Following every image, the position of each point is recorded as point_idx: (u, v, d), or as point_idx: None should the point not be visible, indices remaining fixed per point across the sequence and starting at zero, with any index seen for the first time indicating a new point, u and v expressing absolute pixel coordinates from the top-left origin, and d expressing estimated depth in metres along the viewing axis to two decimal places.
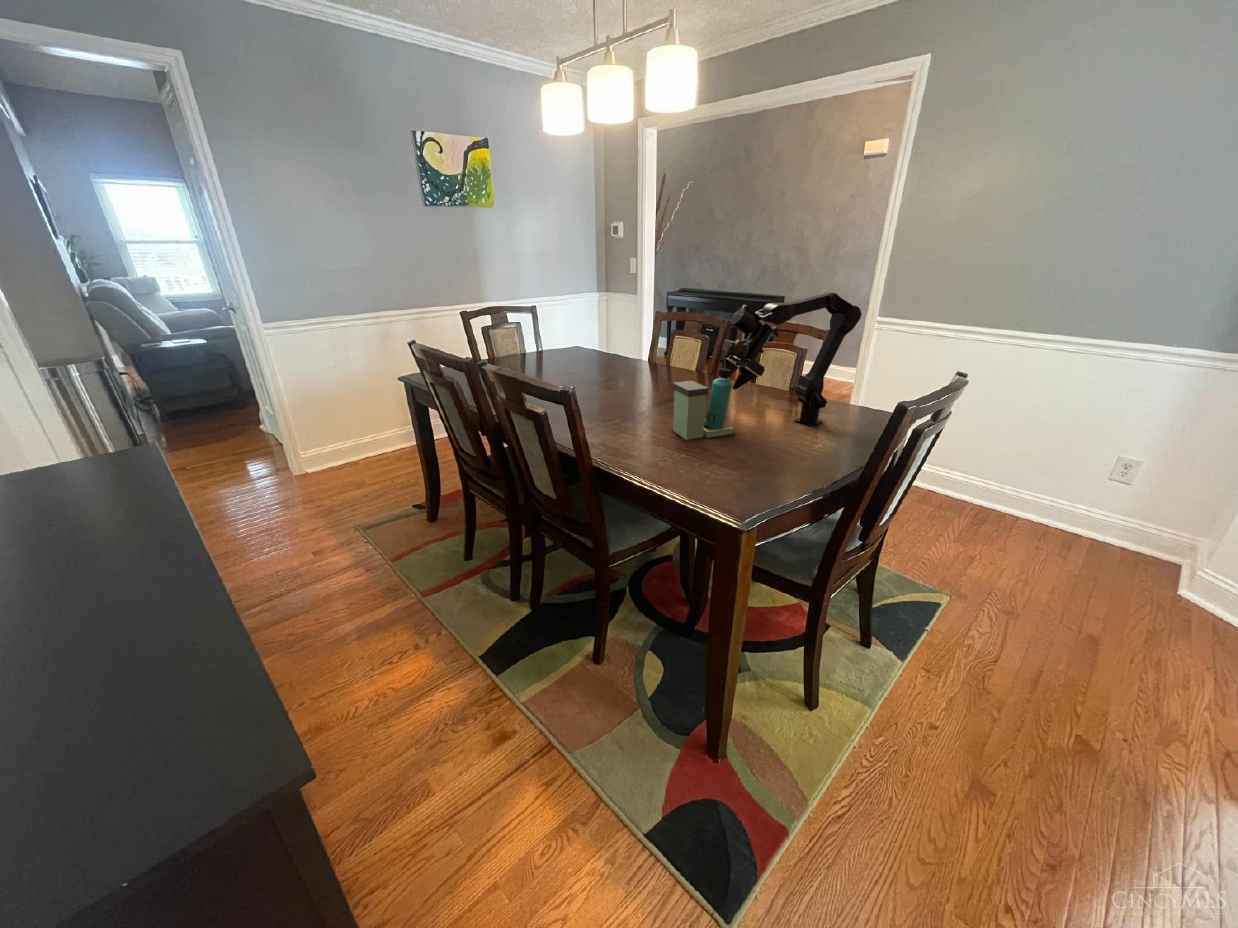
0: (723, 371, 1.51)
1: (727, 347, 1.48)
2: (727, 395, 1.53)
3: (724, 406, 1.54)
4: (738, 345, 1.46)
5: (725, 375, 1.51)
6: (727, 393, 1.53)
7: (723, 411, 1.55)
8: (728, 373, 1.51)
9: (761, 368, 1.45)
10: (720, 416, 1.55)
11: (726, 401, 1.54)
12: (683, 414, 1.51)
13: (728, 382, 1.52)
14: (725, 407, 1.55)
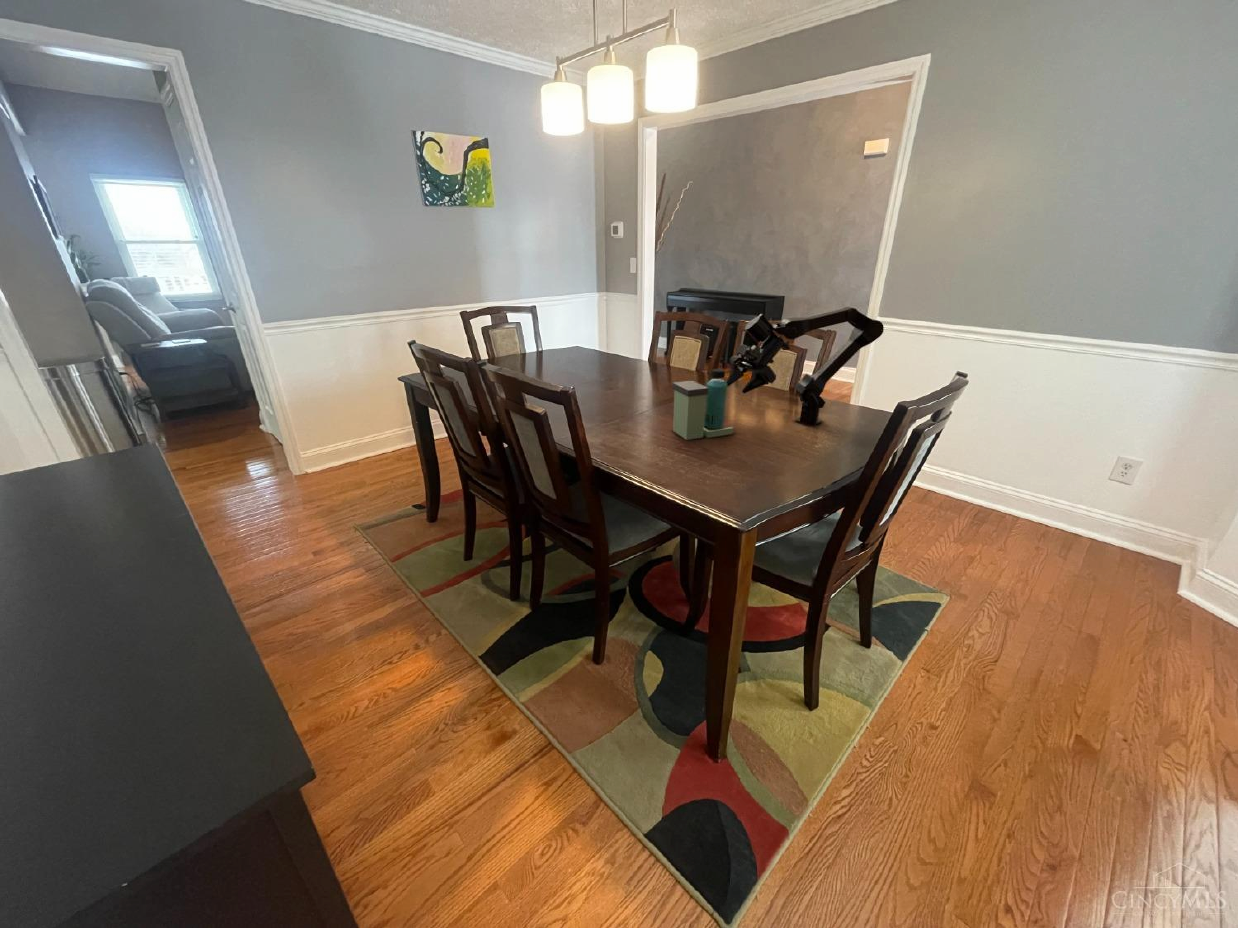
0: (716, 372, 1.50)
1: (743, 351, 1.52)
2: (723, 395, 1.53)
3: (721, 407, 1.54)
4: (755, 350, 1.50)
5: (719, 376, 1.51)
6: (723, 393, 1.52)
7: (721, 412, 1.55)
8: (722, 374, 1.51)
9: (774, 376, 1.50)
10: (718, 416, 1.55)
11: (723, 401, 1.54)
12: (683, 414, 1.51)
13: (723, 382, 1.52)
14: (722, 407, 1.55)
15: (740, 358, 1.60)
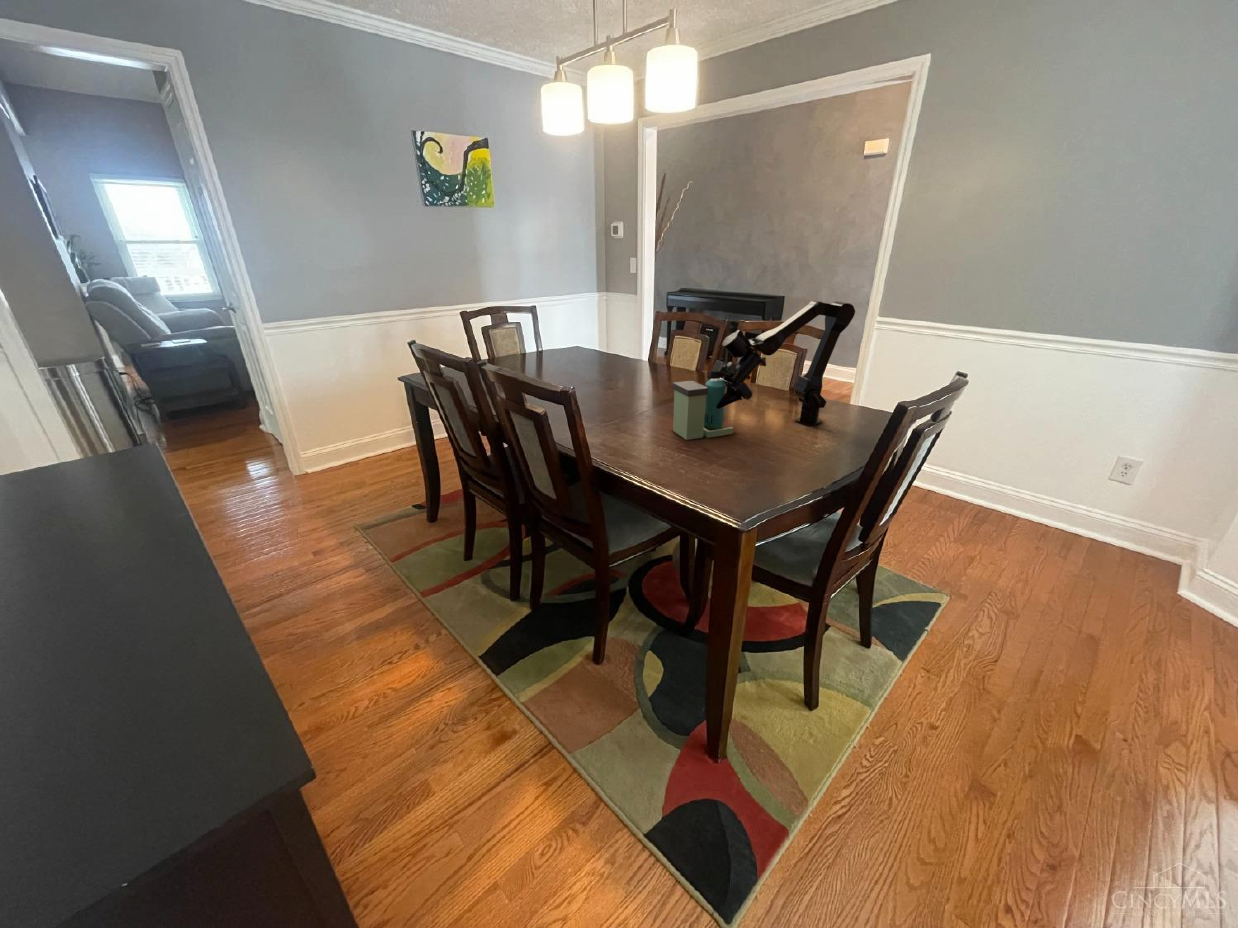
0: (715, 372, 1.50)
1: (719, 367, 1.51)
2: (722, 395, 1.53)
3: None
4: (731, 367, 1.49)
5: (718, 376, 1.51)
6: (722, 393, 1.52)
7: (720, 411, 1.55)
8: (720, 374, 1.51)
9: (750, 393, 1.49)
10: (717, 416, 1.55)
11: None
12: (683, 414, 1.51)
13: (721, 382, 1.52)
14: None
15: None
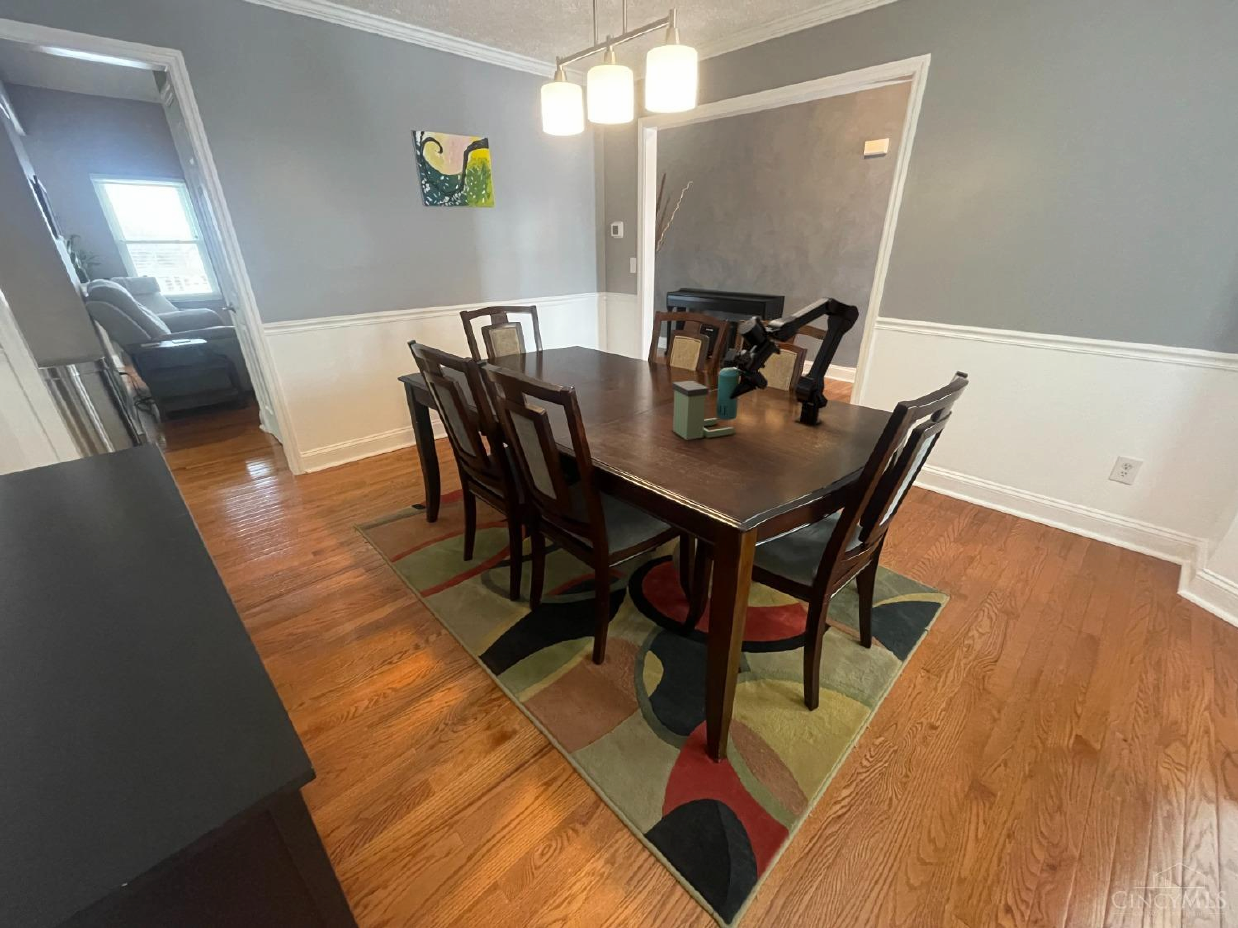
0: (728, 361, 1.44)
1: (733, 356, 1.44)
2: (735, 385, 1.46)
3: None
4: (745, 355, 1.42)
5: (731, 365, 1.44)
6: (735, 383, 1.46)
7: (733, 402, 1.48)
8: (734, 362, 1.44)
9: (765, 382, 1.42)
10: (731, 407, 1.49)
11: None
12: (683, 414, 1.51)
13: (735, 371, 1.45)
14: None
15: None
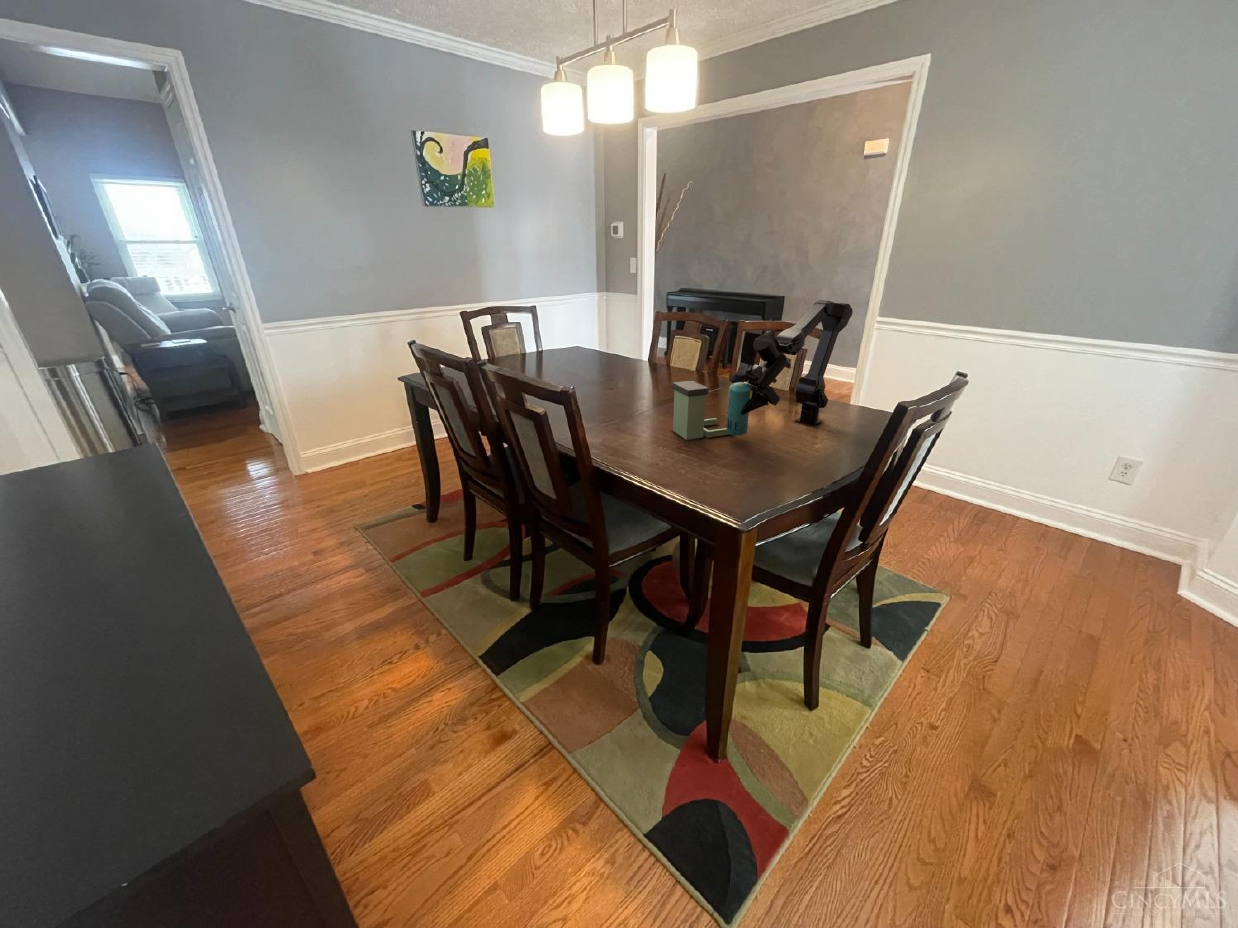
0: (739, 376, 1.41)
1: (744, 370, 1.41)
2: (747, 400, 1.43)
3: None
4: (757, 370, 1.39)
5: (742, 380, 1.41)
6: (746, 398, 1.43)
7: (744, 417, 1.45)
8: (745, 377, 1.41)
9: (777, 397, 1.39)
10: (742, 422, 1.46)
11: None
12: (683, 414, 1.51)
13: (746, 387, 1.42)
14: (746, 413, 1.45)
15: None
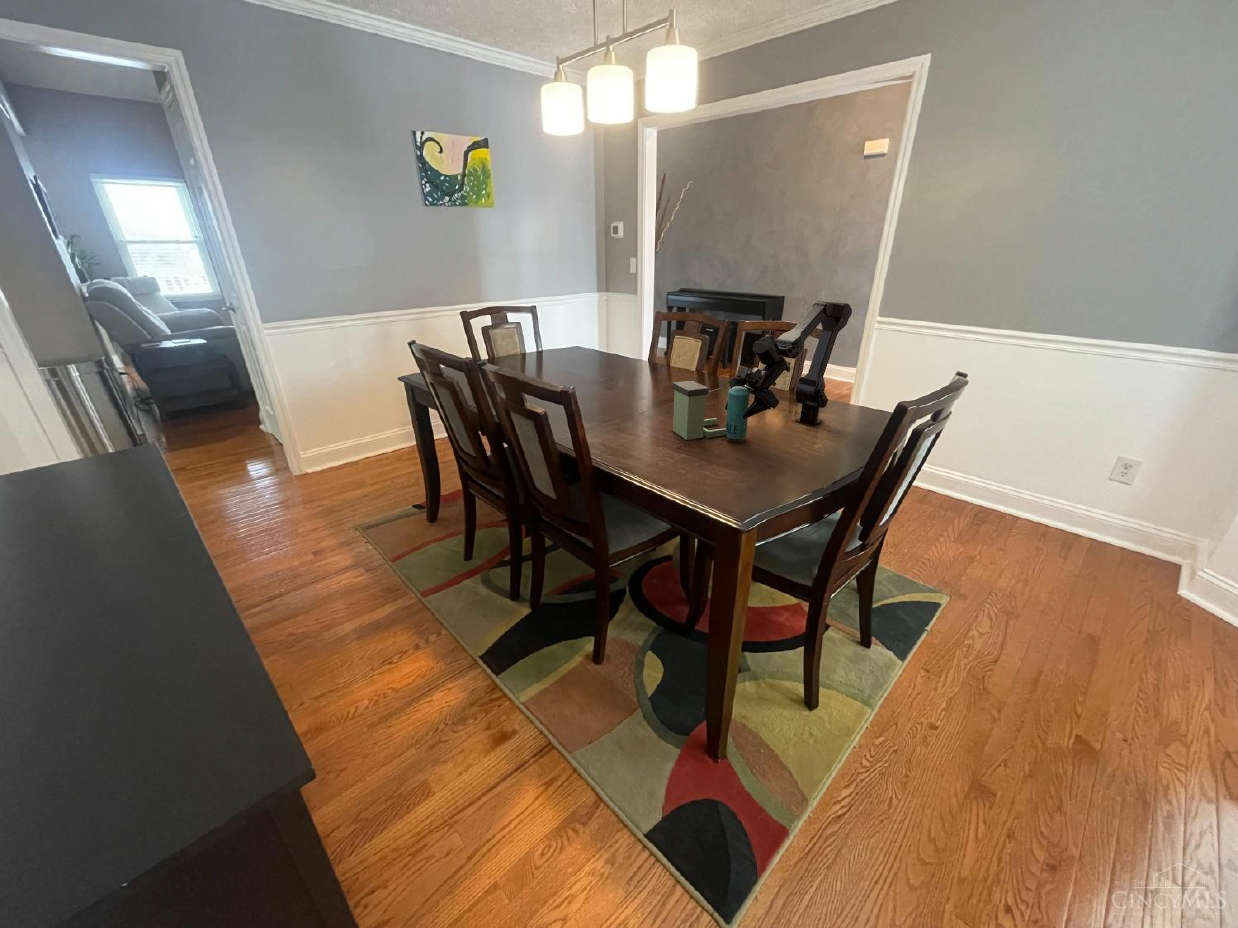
0: (738, 379, 1.42)
1: (743, 373, 1.41)
2: (746, 404, 1.44)
3: None
4: (756, 373, 1.39)
5: (741, 384, 1.42)
6: (745, 402, 1.44)
7: (743, 421, 1.46)
8: (744, 381, 1.42)
9: (777, 401, 1.39)
10: (741, 426, 1.46)
11: (745, 410, 1.45)
12: (683, 414, 1.51)
13: (745, 390, 1.43)
14: None
15: None
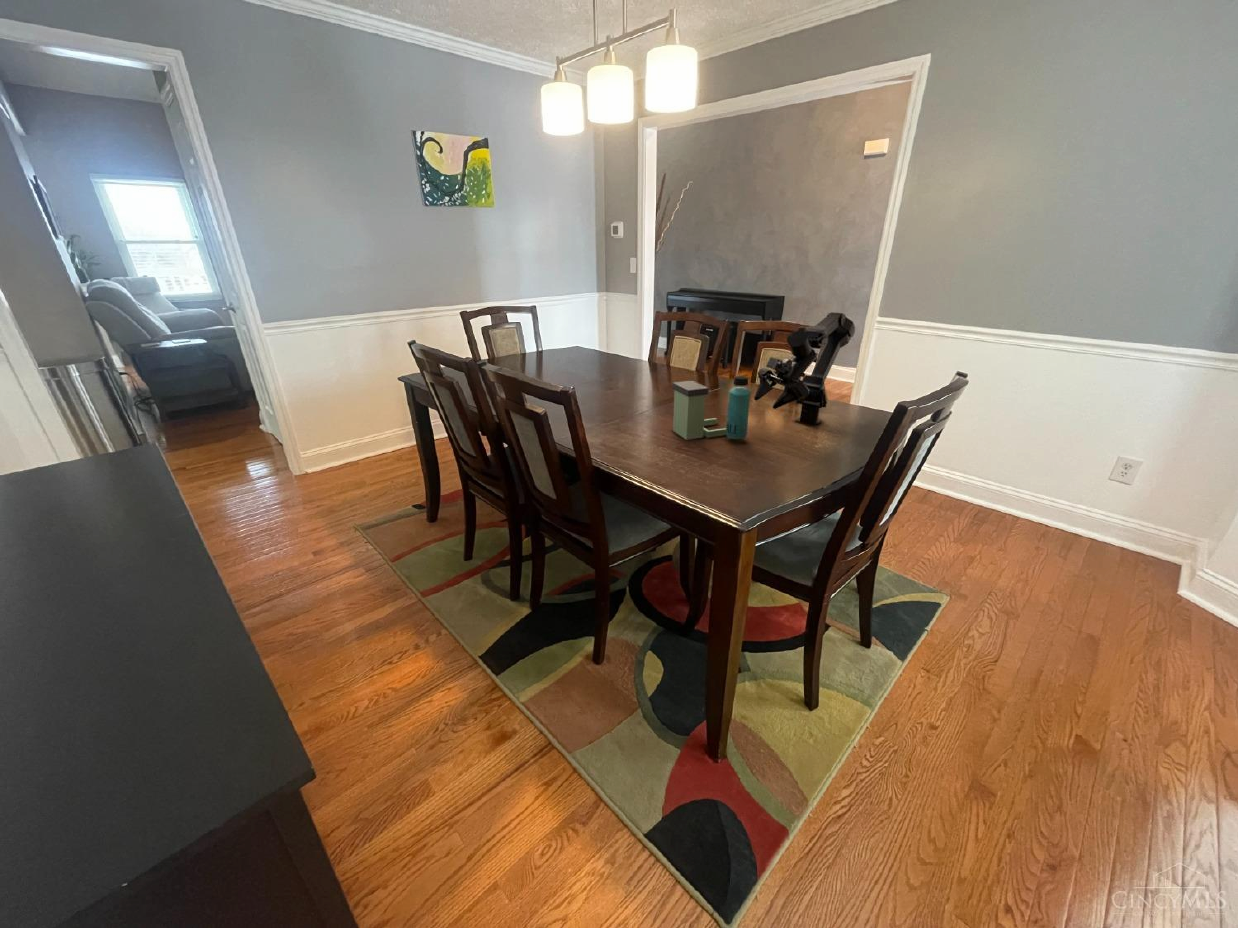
0: (739, 379, 1.42)
1: (774, 364, 1.44)
2: (746, 404, 1.44)
3: (744, 416, 1.46)
4: (787, 364, 1.42)
5: (742, 384, 1.42)
6: (746, 402, 1.44)
7: (744, 421, 1.46)
8: (745, 381, 1.42)
9: (807, 391, 1.42)
10: (741, 426, 1.46)
11: (746, 410, 1.45)
12: (683, 414, 1.51)
13: (746, 390, 1.43)
14: (746, 417, 1.46)
15: (769, 371, 1.53)
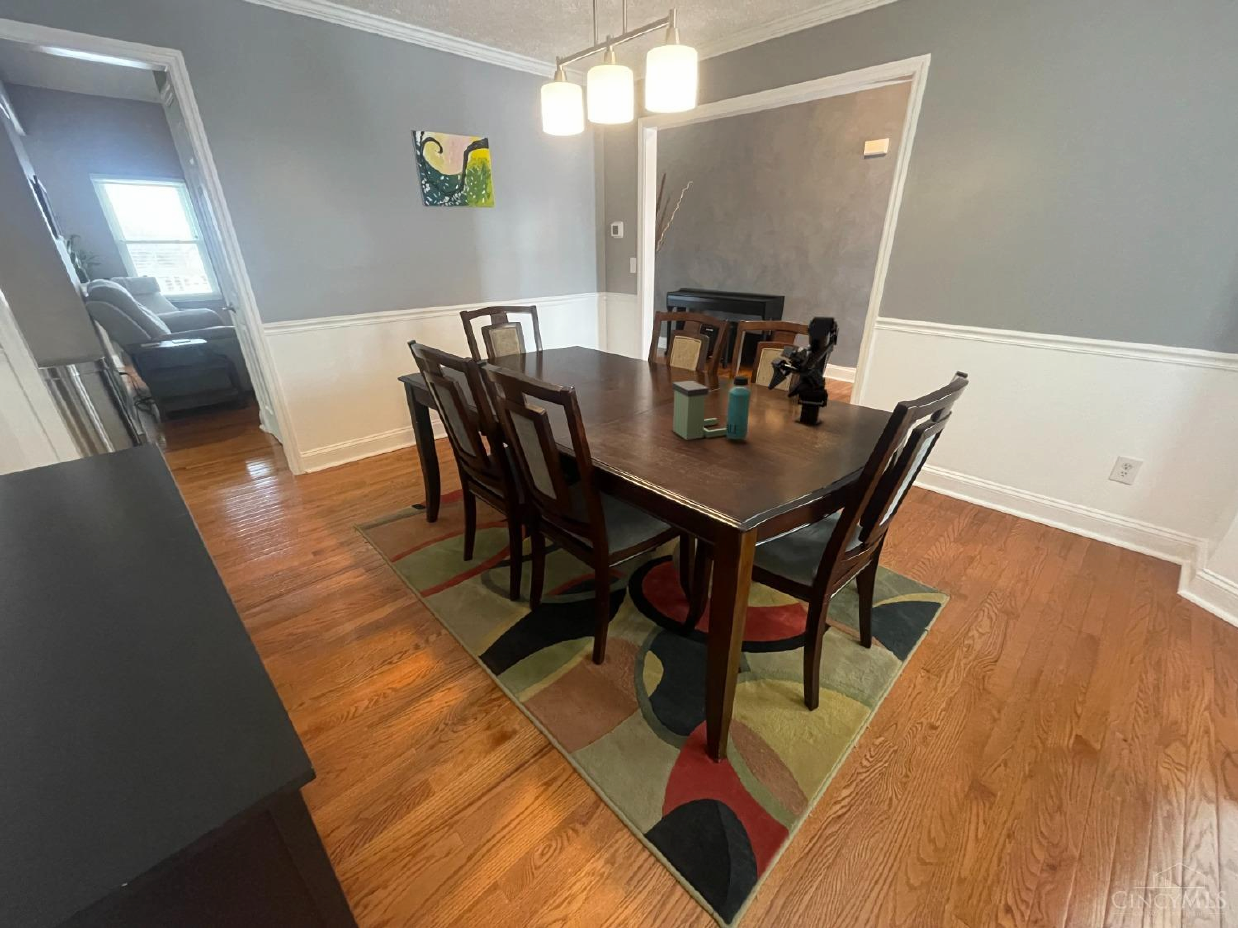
0: (739, 379, 1.42)
1: (789, 353, 1.45)
2: (746, 404, 1.44)
3: (744, 416, 1.46)
4: (802, 352, 1.43)
5: (742, 384, 1.42)
6: (746, 402, 1.44)
7: (744, 421, 1.46)
8: (745, 381, 1.42)
9: (822, 379, 1.43)
10: (741, 426, 1.46)
11: (746, 410, 1.45)
12: (683, 414, 1.51)
13: (746, 390, 1.43)
14: (746, 417, 1.46)
15: (783, 361, 1.54)
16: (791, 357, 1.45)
